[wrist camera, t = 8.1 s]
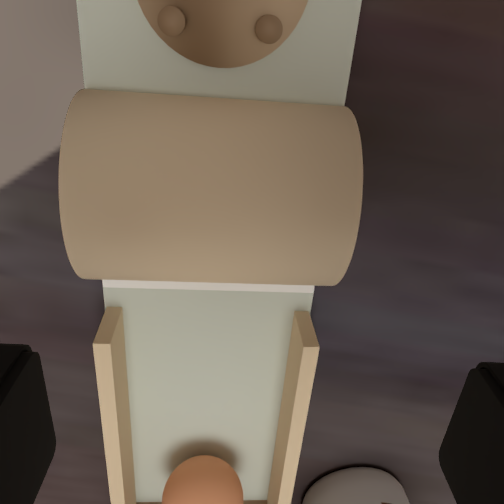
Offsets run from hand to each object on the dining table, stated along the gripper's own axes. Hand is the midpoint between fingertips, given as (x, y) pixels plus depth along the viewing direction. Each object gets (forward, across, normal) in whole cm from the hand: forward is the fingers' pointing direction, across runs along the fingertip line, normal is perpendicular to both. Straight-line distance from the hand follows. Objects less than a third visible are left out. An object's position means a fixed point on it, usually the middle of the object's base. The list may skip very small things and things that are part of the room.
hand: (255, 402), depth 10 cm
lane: (+16, +2, +6) cm, 17 cm away
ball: (+10, +2, +19) cm, 22 cm away
